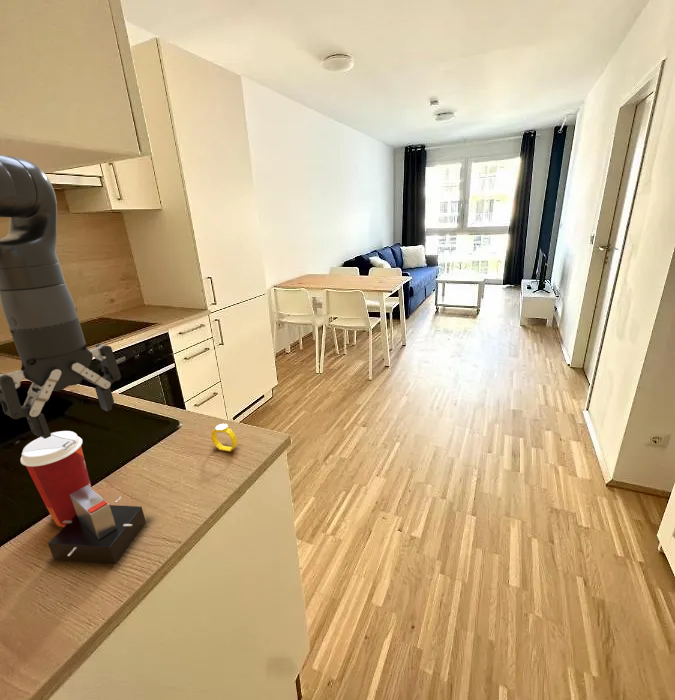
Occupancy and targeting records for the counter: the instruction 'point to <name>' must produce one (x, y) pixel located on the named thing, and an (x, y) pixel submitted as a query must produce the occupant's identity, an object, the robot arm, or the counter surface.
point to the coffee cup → (57, 471)
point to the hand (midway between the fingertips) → (77, 422)
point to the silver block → (93, 512)
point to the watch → (225, 428)
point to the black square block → (85, 546)
